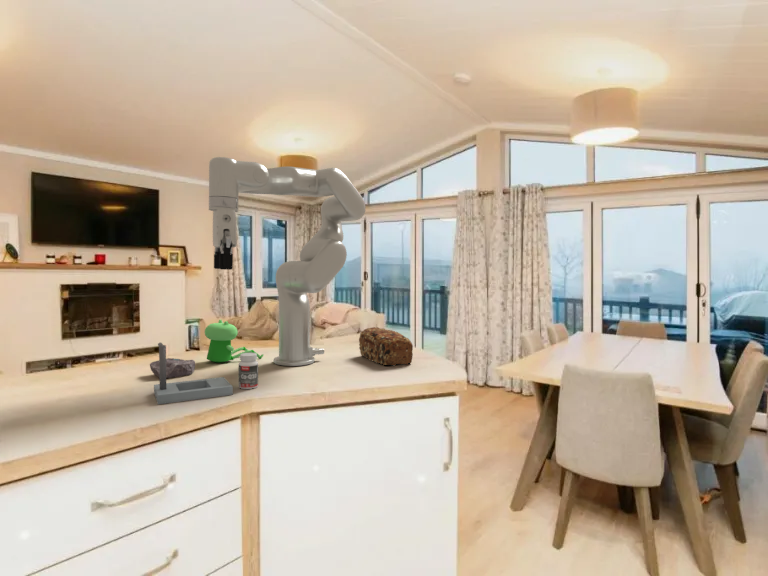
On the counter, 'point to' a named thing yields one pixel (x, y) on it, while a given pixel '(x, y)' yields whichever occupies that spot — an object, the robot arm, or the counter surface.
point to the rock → (174, 367)
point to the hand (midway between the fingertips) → (222, 269)
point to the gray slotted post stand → (187, 386)
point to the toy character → (223, 342)
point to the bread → (385, 346)
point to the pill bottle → (248, 371)
